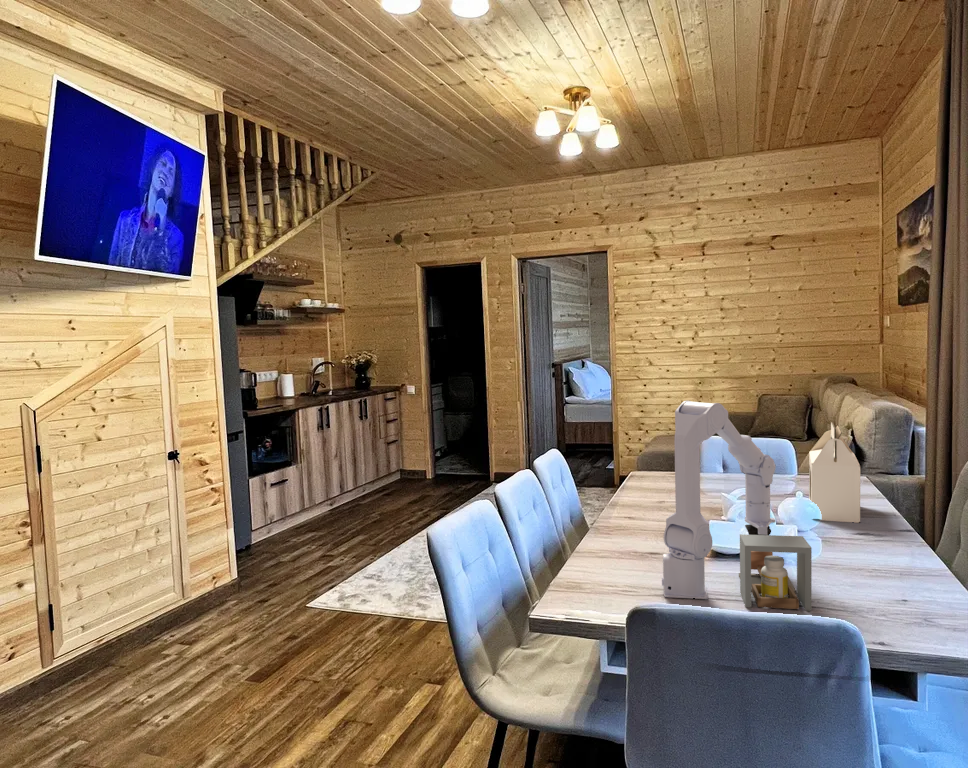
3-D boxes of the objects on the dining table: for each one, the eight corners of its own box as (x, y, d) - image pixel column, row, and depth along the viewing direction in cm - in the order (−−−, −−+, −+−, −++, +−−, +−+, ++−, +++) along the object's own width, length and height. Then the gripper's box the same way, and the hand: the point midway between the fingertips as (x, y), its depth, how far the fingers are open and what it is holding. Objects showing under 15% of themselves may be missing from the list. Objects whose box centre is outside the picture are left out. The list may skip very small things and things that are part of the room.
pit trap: (744, 591, 156) (744, 588, 156) (738, 576, 166) (738, 573, 166) (796, 594, 154) (796, 590, 154) (787, 578, 163) (787, 575, 163)
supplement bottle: (780, 596, 153) (780, 553, 152) (792, 606, 147) (792, 562, 147) (757, 597, 153) (756, 554, 152) (767, 607, 147) (767, 563, 147)
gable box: (860, 523, 205) (860, 431, 202) (811, 520, 210) (811, 429, 208) (853, 505, 225) (854, 420, 223) (809, 502, 230) (809, 420, 228)
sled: (757, 606, 147) (757, 582, 147) (742, 570, 168) (742, 549, 168) (798, 609, 145) (798, 584, 145) (778, 572, 167) (778, 550, 166)
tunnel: (745, 607, 148) (744, 545, 147) (740, 593, 155) (739, 534, 154) (811, 610, 145) (811, 547, 144) (802, 596, 152) (802, 536, 151)
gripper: (780, 509, 162) (781, 565, 163) (769, 494, 176) (769, 546, 177) (749, 508, 163) (749, 563, 164) (740, 493, 177) (741, 545, 179)
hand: (758, 554), depth 171 cm, fingers closed
